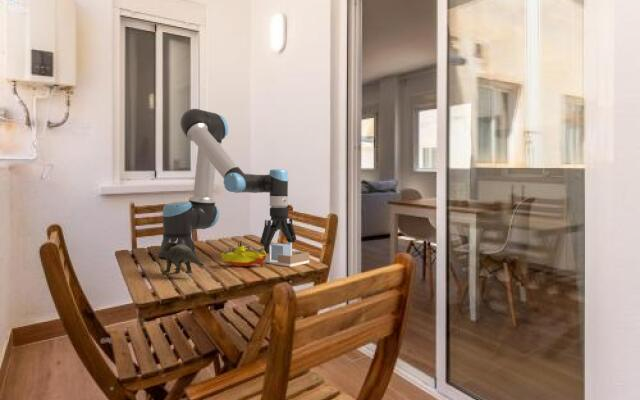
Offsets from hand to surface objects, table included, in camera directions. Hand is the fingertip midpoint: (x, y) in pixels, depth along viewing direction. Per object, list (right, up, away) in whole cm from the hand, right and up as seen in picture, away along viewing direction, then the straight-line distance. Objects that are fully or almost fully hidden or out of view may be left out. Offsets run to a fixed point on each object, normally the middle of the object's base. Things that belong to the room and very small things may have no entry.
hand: (278, 259), depth 158 cm
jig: (-5, -1, +4) cm, 7 cm away
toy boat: (-13, -1, -10) cm, 16 cm away
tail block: (0, 0, 0) cm, 0 cm away
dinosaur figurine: (-33, -1, -22) cm, 40 cm away
